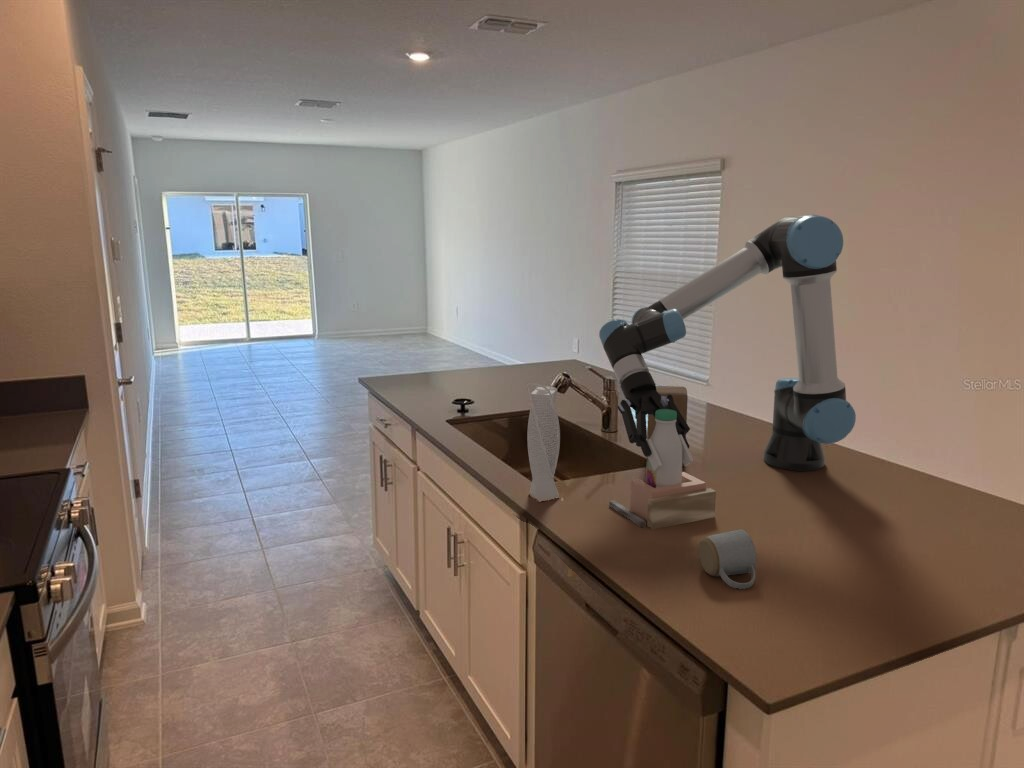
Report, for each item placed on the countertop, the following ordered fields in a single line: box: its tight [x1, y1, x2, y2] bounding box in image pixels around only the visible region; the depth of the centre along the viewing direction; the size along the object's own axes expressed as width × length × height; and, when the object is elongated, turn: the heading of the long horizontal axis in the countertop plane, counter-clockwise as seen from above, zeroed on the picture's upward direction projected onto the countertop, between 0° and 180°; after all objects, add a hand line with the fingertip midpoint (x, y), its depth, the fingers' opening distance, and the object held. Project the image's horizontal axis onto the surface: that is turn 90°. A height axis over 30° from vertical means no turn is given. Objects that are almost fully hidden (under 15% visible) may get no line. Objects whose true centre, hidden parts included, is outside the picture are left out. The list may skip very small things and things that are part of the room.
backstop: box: [608, 487, 717, 530], centre depth 154 cm, size 15×19×6 cm
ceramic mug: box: [698, 529, 758, 590], centre depth 124 cm, size 11×8×8 cm
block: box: [646, 385, 689, 467], centre depth 187 cm, size 10×10×20 cm
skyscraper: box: [525, 382, 561, 500], centre depth 161 cm, size 8×8×28 cm
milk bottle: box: [645, 409, 683, 488], centre depth 153 cm, size 8×8×20 cm
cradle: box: [629, 471, 707, 522], centre depth 153 cm, size 8×14×7 cm, turn 113°
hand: (673, 465), depth 150 cm, fingers closed on milk bottle, 7 cm apart
